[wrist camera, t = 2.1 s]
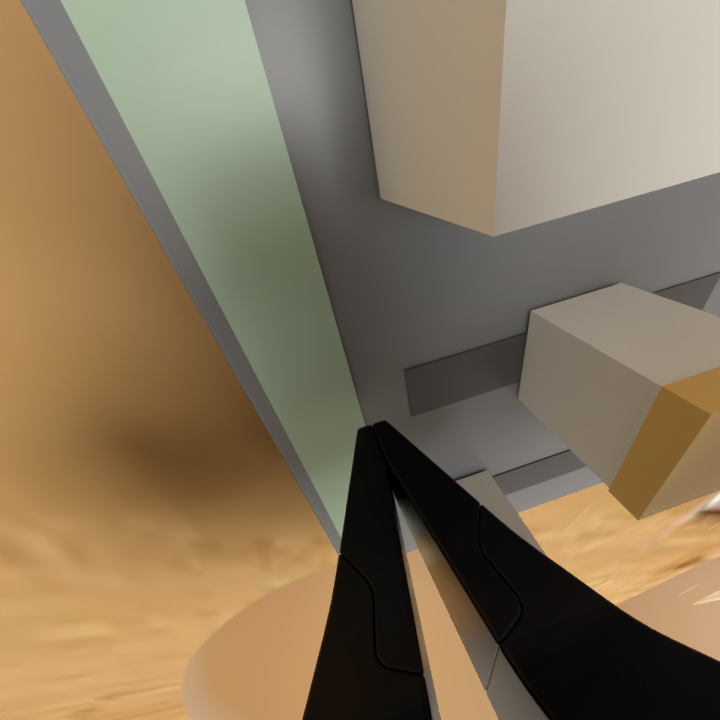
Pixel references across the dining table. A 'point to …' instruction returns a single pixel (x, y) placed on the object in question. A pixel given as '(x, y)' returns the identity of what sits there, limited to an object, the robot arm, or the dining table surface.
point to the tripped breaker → (630, 392)
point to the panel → (348, 242)
